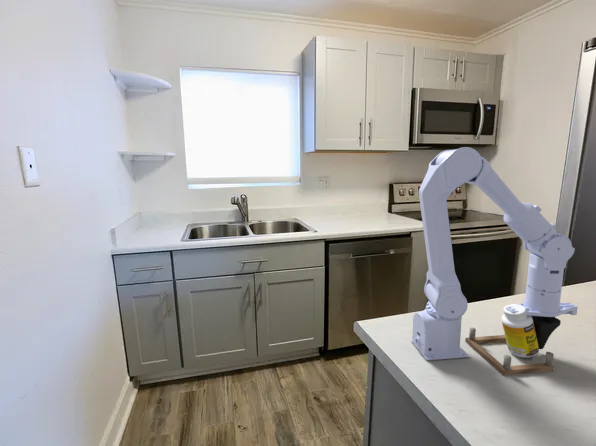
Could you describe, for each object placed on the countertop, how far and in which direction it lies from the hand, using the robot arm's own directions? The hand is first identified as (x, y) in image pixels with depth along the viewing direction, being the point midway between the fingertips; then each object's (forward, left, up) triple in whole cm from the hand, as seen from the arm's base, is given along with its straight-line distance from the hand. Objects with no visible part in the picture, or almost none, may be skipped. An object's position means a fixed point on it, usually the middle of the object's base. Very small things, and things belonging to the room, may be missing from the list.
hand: (537, 346), depth 67 cm
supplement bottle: (-3, 0, -1) cm, 3 cm away
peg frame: (-7, 0, -2) cm, 7 cm away
